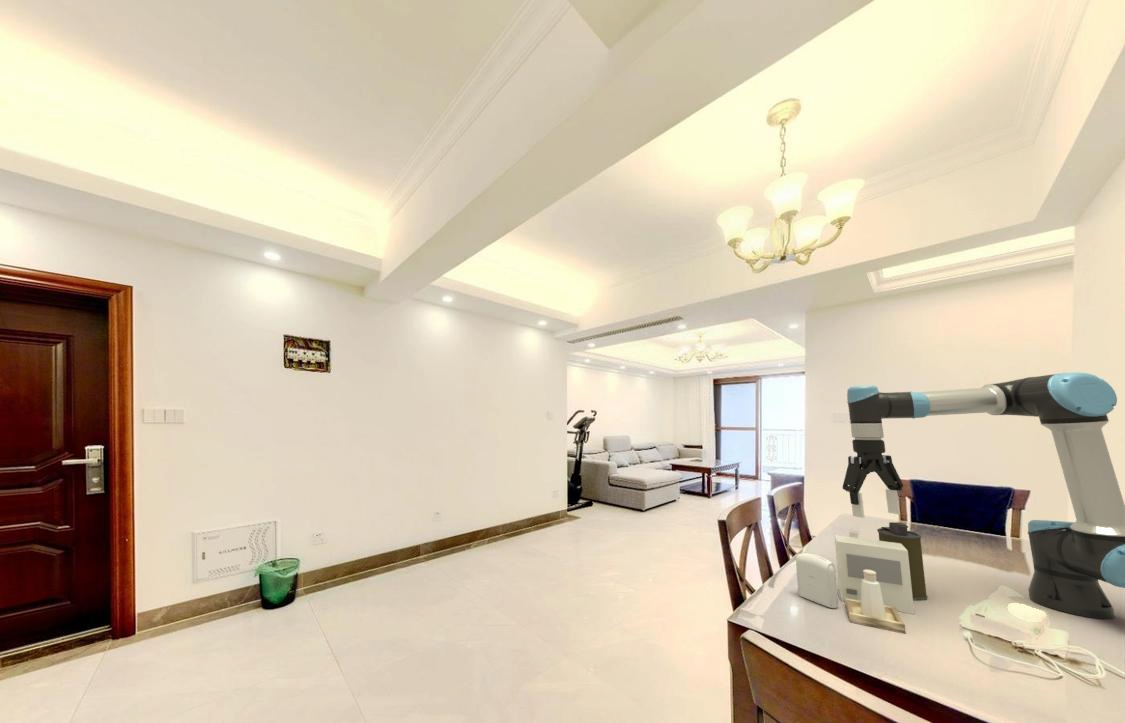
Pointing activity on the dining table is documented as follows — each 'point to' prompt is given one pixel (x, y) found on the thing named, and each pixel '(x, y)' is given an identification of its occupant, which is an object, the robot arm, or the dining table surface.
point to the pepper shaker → (871, 596)
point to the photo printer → (817, 579)
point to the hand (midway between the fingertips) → (876, 515)
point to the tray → (890, 623)
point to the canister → (913, 545)
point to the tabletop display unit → (881, 559)
